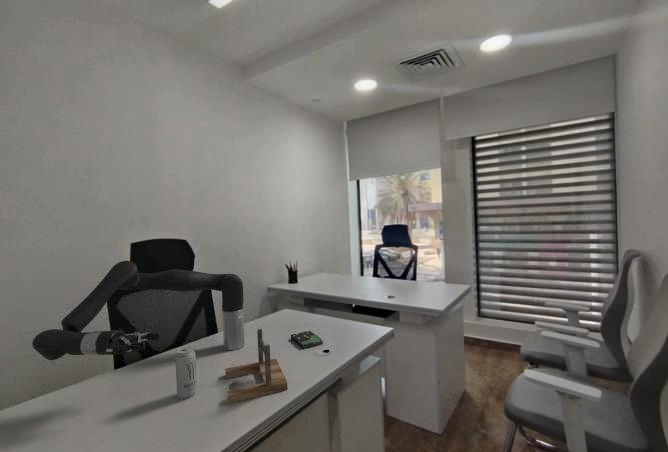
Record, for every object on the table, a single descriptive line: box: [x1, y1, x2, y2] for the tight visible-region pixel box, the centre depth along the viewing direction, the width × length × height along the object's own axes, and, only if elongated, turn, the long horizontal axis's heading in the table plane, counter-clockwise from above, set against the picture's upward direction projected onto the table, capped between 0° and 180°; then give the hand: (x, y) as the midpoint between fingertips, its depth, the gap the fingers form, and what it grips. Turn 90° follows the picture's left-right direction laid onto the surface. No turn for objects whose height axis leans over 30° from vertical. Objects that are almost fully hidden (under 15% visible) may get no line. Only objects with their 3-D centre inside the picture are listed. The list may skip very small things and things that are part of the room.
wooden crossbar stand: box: [224, 328, 288, 404], centre depth 110 cm, size 20×19×16 cm
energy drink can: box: [174, 346, 198, 400], centre depth 103 cm, size 6×6×15 cm
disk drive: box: [290, 330, 324, 350], centre depth 145 cm, size 10×3×15 cm
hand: (152, 340), depth 103 cm, fingers open, 8 cm apart
